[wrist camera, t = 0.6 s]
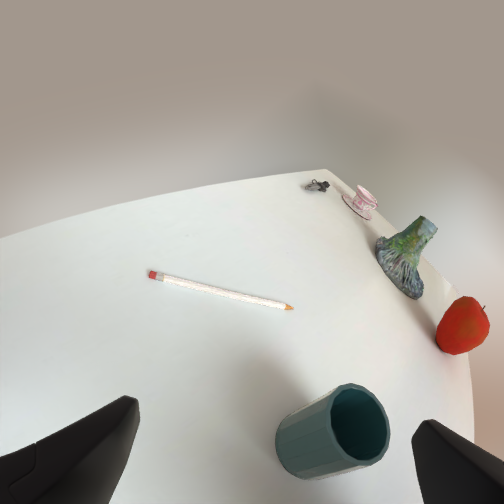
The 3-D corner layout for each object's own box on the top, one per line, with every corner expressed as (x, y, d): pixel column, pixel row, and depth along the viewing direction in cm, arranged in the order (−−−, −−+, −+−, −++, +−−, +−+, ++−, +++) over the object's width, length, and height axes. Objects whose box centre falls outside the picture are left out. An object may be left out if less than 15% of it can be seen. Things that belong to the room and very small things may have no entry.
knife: (315, 191, 70) (300, 179, 72) (310, 197, 71) (296, 185, 73) (334, 186, 85) (322, 176, 87) (330, 191, 87) (318, 181, 88)
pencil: (149, 273, 29) (151, 269, 29) (292, 307, 37) (295, 304, 37) (148, 279, 29) (150, 275, 28) (294, 312, 37) (297, 309, 36)
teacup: (338, 198, 85) (350, 183, 82) (346, 193, 95) (356, 180, 92) (367, 223, 83) (380, 209, 79) (372, 216, 93) (383, 203, 89)
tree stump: (376, 276, 59) (420, 208, 53) (357, 248, 78) (390, 196, 72) (428, 310, 60) (468, 250, 54) (402, 278, 79) (434, 230, 73)
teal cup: (325, 491, 19) (382, 477, 15) (262, 457, 20) (313, 440, 16) (345, 432, 26) (394, 408, 22) (292, 397, 26) (338, 368, 23)
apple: (428, 350, 48) (479, 306, 40) (423, 315, 57) (465, 276, 50) (456, 375, 47) (504, 337, 39) (450, 341, 57) (490, 305, 49)
